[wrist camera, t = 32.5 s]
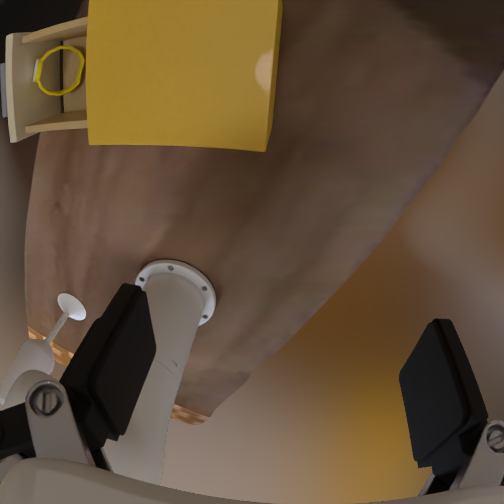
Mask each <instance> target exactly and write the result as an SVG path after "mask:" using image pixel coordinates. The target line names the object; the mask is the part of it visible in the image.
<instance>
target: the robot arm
mask: <svg viewBox="0 0 504 504" xmlns="http://www.w3.org/2000/svg"><path fill="white" fill-rule="evenodd" d="M215 306H216V295H215V291H214V289H213V287H212V285H211V283H210V282H209V281H208V279H207V278H206V277H205V276H204V275H203V274H202V273H201V272H199V271H198V270H197V269H195V268H194V267H192V266H190V265H188V264H186V263H183V262H180V261H175V260H157V261H154V262H151V263H149V264H147V265H146V266H145V267H144V268H143V269H142V270H141V271H140V273H139V274H138V276H137V278H136V282H135V285H132V284H126V283H124V284H122V285H121V287H120V288H119V290H118V291H117V293H116V294H115V296H114V297H113V299H112V301H111V302H110V304H109V305H108V307H107V308H106V310H105V312H104V313H103V315H102V317H101V318H98V319H96V320H95V321H94V323H93V324H92V326H91V327H90V329H89V331H88V332H87V334H86V336H85V337H84V339H83V341H82V342H81V344H80V346H79V347H78V349H77V351H76V352H75V354H74V356H73V358H72V359H71V361H70V363H69V365H68V366H67V368H66V370H65V372H64V373H63V375H62V377H61V379H60V381H58V380H57V379H55V378H53V377H52V376H50V375H48V374H46V373H44V372H42V371H39V370H28V371H25V372H24V373H22V374H21V375H20V376H19V377H18V378H17V379H16V380H15V382H14V383H13V385H12V387H11V388H10V390H9V392H8V394H7V397H6V399H5V402H4V404H3V407H2V410H1V411H0V504H271V503H258V502H249V501H240V500H232V499H225V498H218V497H212V496H206V495H200V494H195V493H190V492H185V491H181V490H176V489H172V488H167V487H163V486H160V483H161V480H162V475H163V470H164V459H165V446H166V437H167V430H168V425H169V420H170V416H171V412H172V409H173V405H174V401H175V398H176V395H177V392H178V389H179V385H180V382H181V379H182V376H183V372H184V369H185V366H186V363H187V360H188V356H189V353H190V350H191V347H192V344H193V341H194V338H195V335H196V331H197V328H198V326H200V325H202V324H204V323H205V322H207V321H208V320H209V319H210V318H211V316H212V315H213V312H214V310H215ZM399 382H400V387H401V391H402V396H403V401H404V406H405V411H406V416H407V422H408V427H409V433H410V439H411V445H412V452H413V458H414V460H415V461H417V463H418V468H423V467H429V466H432V471H433V472H432V474H431V476H430V477H429V479H428V481H427V482H426V484H425V486H424V487H423V489H422V490H421V492H420V493H419V495H418V496H417V497H412V498H404V499H397V500H390V501H382V502H371V503H359V504H504V422H502V421H500V420H494V421H490V422H489V423H488V422H487V418H488V413H487V410H486V407H485V404H484V401H483V398H482V395H481V393H480V390H479V387H478V384H477V381H476V379H475V376H474V373H473V371H472V368H471V366H470V363H469V361H468V358H467V356H466V353H465V351H464V348H463V346H462V344H461V342H460V339H459V337H458V334H457V332H456V330H455V328H454V325H453V323H452V321H451V320H449V319H434V320H433V321H432V322H431V323H429V324H428V325H427V327H426V329H425V330H424V332H423V334H422V336H421V338H420V339H419V341H418V343H417V345H416V346H415V348H414V350H413V351H412V353H411V355H410V356H409V358H408V360H407V361H406V363H405V365H404V366H403V368H402V369H401V371H400V374H399Z"/></svg>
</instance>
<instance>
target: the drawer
mask: <svg viewBox="0 0 504 504" xmlns="http://www.w3.org/2000/svg"><path fill="white" fill-rule="evenodd" d="M87 22H88V17H84V18H80V19H76V20H72V21H69V22H65V23H61V24H58V25H55V26H52V27H48V28H45V29H42V30H39V31H36V32H26V33H12V34H10V35H7V36H6V63H3V64H1V67H0V71H1V99H2V113H3V117H7V116H8V123H9V133H10V141H11V143H12V142H18V141H20V140H22V139H24V138H27V137H29V136H31V135H34V134H36V133H38V132H42V131H52V130H64V129H77V128H88V126H87V107H86V41H87ZM60 41H63V46H73V47H74V48H76V49H78V50H79V51H80V52H81V53H82V54H83V56H84V58H85V63H84V67H83V71H82V74H81V79H80V83H79V85H78V86H77V87H76V88H75V89H74V90H72V91H70V93H67V94H64V95H63V97H64V112H63V113H61V103H60V96H52V95H49V94H46V93H45V92H44V91H42V90H41V89H40V88H39V86H38V83H37V82H33V74H34V68H35V63H36V60H37V59H41V58H42V57H43V56H44V54H45V53H46V52H48V51H49V50H51V49H53V48H55V47H57V46H60ZM79 65H80V59H79V57H78V55H77V54H76V53H75V52H73V51H72V50H70V49H63V89H66V88H68V87H69V86H70V85H71V84H72V83H74V82H75V80H76V76H77V72H78V68H79ZM40 81H41V84H42V86H43V87H45V88H46V89H47V90H49V91H60V49H59V50H57V51H55V52H53V53H51V54H50V55H49V56H48V57H47V58H46V59H45V61H44V62H43V66H42V72H41V77H40Z"/></svg>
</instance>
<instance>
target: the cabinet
mask: <svg viewBox="0 0 504 504" xmlns="http://www.w3.org/2000/svg"><path fill="white" fill-rule="evenodd" d="M282 11H283V8H282V0H89V9H88V22H87V41H86V107H87V126H88V140H89V145H171V146H194V147H211V148H225V149H237V150H249V151H259V152H265V151H266V147H267V143H268V140H269V136H270V133H271V129H272V122H273V112H274V101H275V90H276V79H277V68H278V57H279V45H280V34H281V23H282Z"/></svg>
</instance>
